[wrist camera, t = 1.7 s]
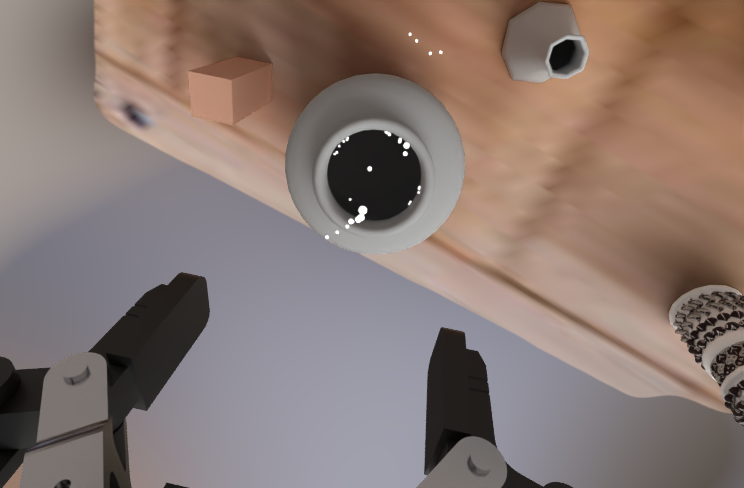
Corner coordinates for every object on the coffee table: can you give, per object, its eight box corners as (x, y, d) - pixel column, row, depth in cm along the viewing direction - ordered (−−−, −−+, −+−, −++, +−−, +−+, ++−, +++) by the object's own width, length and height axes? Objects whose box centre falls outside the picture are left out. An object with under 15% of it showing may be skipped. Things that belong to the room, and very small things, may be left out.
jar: (384, 1, 39) (315, 7, 18) (500, 92, 41) (561, 190, 20) (298, 153, 48) (187, 274, 27) (397, 219, 51) (366, 374, 30)
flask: (498, 11, 38) (514, 16, 29) (581, -10, 36) (623, -11, 28) (503, 90, 41) (519, 114, 33) (579, 74, 40) (616, 95, 31)
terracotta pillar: (237, 94, 46) (191, 116, 37) (236, 56, 43) (187, 71, 35) (271, 101, 45) (232, 125, 37) (272, 63, 43) (231, 80, 35)
